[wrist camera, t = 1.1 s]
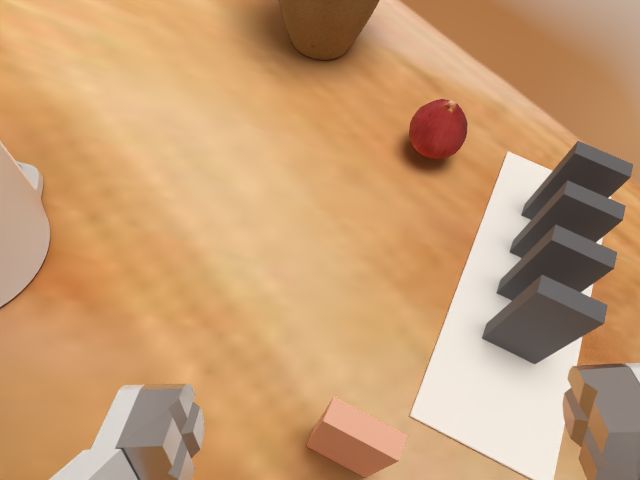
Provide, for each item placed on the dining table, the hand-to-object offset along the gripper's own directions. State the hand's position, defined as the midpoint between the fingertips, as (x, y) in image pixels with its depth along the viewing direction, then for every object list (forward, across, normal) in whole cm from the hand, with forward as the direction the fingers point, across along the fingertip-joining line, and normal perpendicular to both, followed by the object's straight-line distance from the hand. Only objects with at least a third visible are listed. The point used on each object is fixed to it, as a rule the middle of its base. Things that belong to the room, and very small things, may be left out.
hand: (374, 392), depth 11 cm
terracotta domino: (+16, +4, +26) cm, 31 cm away
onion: (+45, -6, +15) cm, 48 cm away
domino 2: (+34, -16, +23) cm, 44 cm away
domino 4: (+26, -12, +26) cm, 38 cm away
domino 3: (+30, -14, +24) cm, 41 cm away
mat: (+31, -14, +24) cm, 42 cm away
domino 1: (+39, -18, +21) cm, 48 cm away
